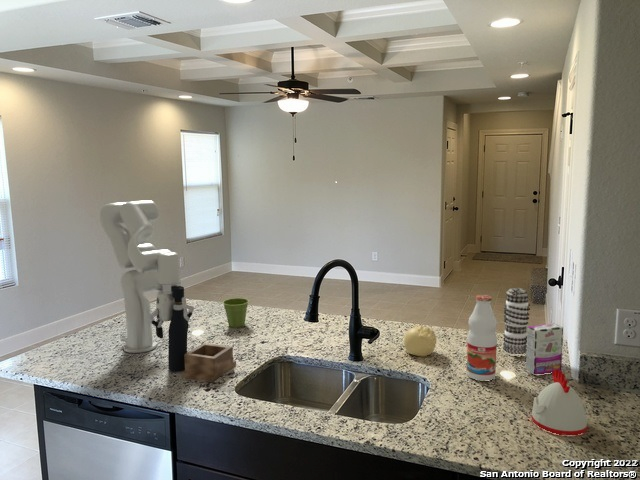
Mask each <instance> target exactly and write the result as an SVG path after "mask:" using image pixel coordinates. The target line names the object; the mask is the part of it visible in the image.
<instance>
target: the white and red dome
mask: <svg viewBox="0 0 640 480" xmlns="http://www.w3.org/2000/svg"><path fill="white" fill-rule="evenodd" d="M551 375H552V379H553V383H550V384H548V385H547V386H545V387H544V388H543V389H542V390H541V392H539V394H538V396H537V397H536V396H534V398H533V402H532V403H533V405H532V409H531V410H532V411H531V421H532V420H533V422H534V423H536V425H538V426H539V427H541V428H543V429H545V430H547V431H550V432H552V433H556V434H559V435H578V434H581V433H584V432H585V431H586V430H588V419H587V415H586V412H587V405H586V403H583V402H582V400H581V398H580V396H579V395H578V393H577V392H576V390H574V389H573V388H572V387H571V386H570V385H569V384H568V382H569V380H568V379H566V374H565V373H563V370H561V371H559V369H555V371H552V374H551ZM533 422H532V423H533ZM586 432H587V431H586ZM586 432H585V433H586ZM585 433H584V434H585Z"/></svg>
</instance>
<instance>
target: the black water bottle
mask: <svg viewBox="0 0 640 480" xmlns="http://www.w3.org/2000/svg"><path fill="white" fill-rule="evenodd" d="M184 293H185V286H182V285H181V286H175V287H173V298H175V301H174V302H175V303H174V305H173V306H174V307H173V316H172V319H171V321H169V322H170V323H169V327H168V354H167V355H168V358H167V359H168V363H167V364H168V366H167V367H168V370H169V371H171V372H175V373H177V372H178V373H180V372H184V371H185V359H184V354H186V353H188V332H187V325H186V321H185V318H184V309H183V303H182V298H183V297H184Z"/></svg>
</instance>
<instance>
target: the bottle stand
mask: <svg viewBox="0 0 640 480" xmlns="http://www.w3.org/2000/svg"><path fill="white" fill-rule="evenodd" d="M233 348H234V347H233V346H229V345H221V344H216V343H215V344H213V343H207V342H203V343H201V344H199V345H198V346H196V347H195V348H193V349H191V350H190V351H187V353H186V354H184V359H185V370H183V371H182V372H181V378H184V379H190V380H196V381H202V382H207V383H208V382H209V383H213V382H215V381H217V379H218V378H220V377H222V376H223V375H224V374H226V373H227V372H228V371H230V370H231V369H233V368H234V367H235V366H236V365H237V361H236V360H234V352H233V350H234V349H233Z"/></svg>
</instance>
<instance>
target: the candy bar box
mask: <svg viewBox="0 0 640 480" xmlns="http://www.w3.org/2000/svg"><path fill="white" fill-rule="evenodd" d="M526 331H527V339H526V340H527V343H526V345H527V348H526V349H527V351H526V356H525V371H526V370H528V371H530V372H531V373H533V374H544V373H551V372H552V371H555V369H559V371H562V366H563V365H562V363H563V361H562V360H563V341H564V327H563V326H561V325H559V324H556V323H548V324H546V323H545V324H539V325H532V326H529V325H528V326H527V330H526Z"/></svg>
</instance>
